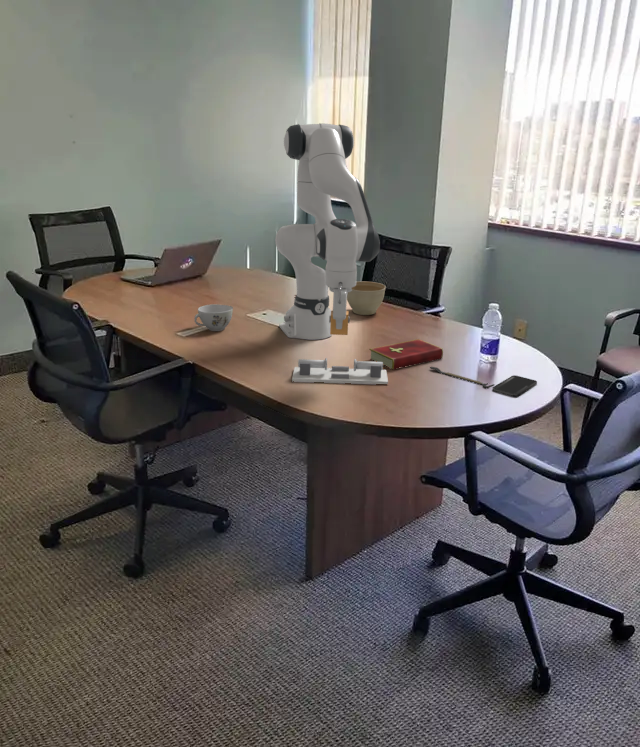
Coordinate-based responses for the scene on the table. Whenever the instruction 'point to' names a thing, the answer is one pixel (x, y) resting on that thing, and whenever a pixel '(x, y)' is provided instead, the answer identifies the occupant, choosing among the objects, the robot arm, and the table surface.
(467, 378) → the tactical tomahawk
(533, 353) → the table surface
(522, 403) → the table surface
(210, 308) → the teacup
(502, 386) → the phone
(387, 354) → the hardcover book
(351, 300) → the planter bowl
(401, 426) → the table surface
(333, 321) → the block
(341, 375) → the shaft rig
